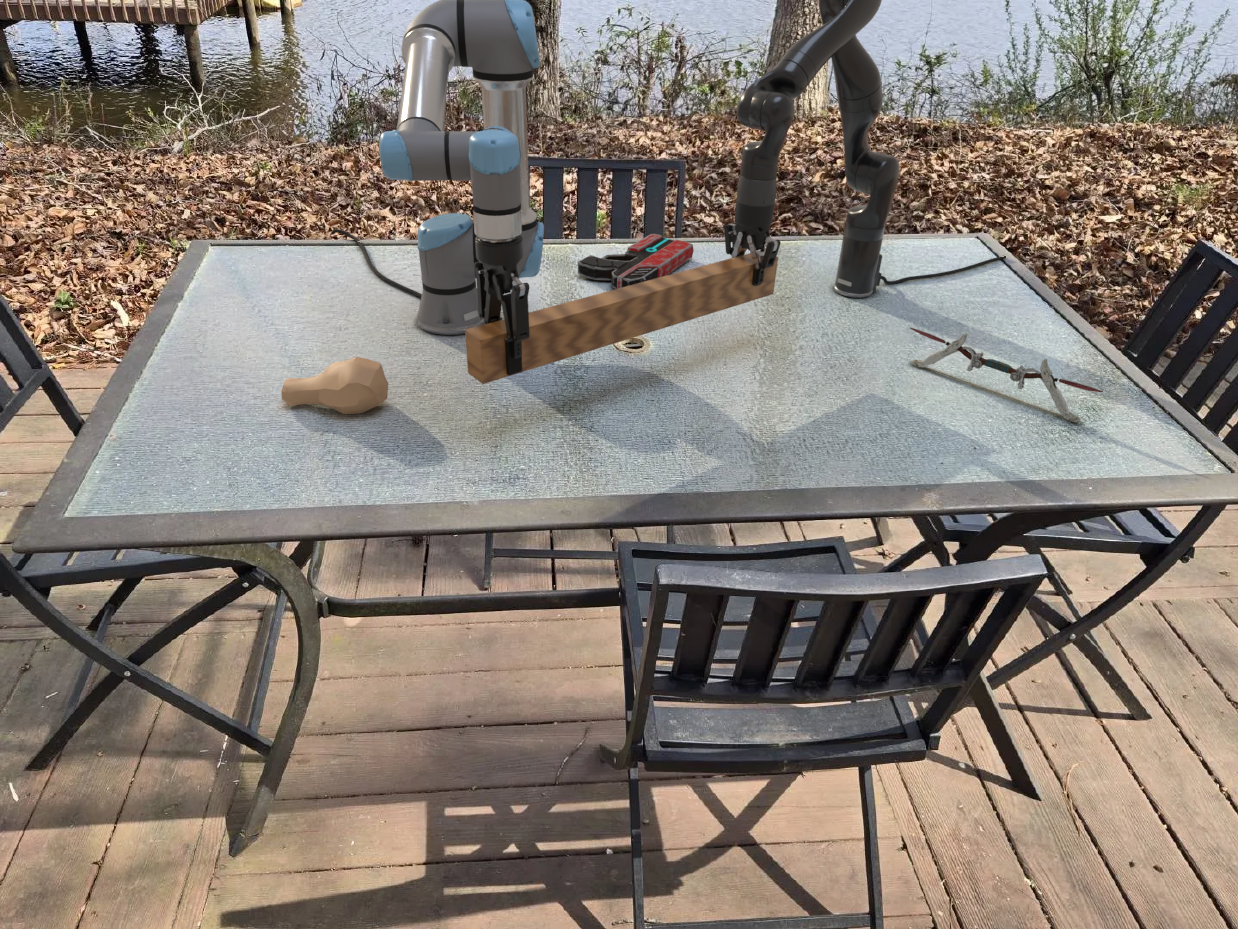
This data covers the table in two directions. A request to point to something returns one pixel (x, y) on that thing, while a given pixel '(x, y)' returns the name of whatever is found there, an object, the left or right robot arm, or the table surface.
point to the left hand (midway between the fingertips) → (505, 365)
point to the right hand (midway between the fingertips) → (746, 280)
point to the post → (617, 315)
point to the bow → (1015, 375)
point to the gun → (638, 261)
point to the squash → (341, 387)
